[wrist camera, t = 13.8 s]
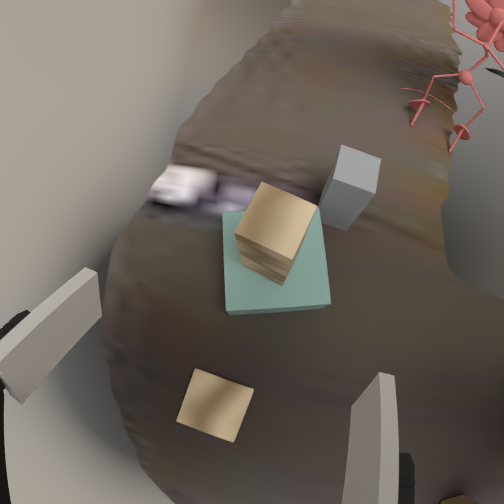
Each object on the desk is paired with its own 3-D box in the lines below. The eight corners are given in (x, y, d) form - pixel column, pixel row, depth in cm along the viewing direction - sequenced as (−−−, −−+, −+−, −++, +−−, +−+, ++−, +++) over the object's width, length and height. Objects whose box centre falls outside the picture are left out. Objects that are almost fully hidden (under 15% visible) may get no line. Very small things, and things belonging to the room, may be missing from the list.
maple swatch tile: (254, 388, 37) (254, 389, 36) (234, 441, 35) (233, 442, 34) (195, 367, 38) (195, 368, 37) (177, 420, 36) (176, 421, 35)
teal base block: (310, 224, 44) (318, 207, 38) (320, 309, 40) (330, 303, 34) (226, 229, 43) (222, 212, 38) (230, 315, 40) (226, 310, 34)
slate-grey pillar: (353, 202, 44) (380, 159, 33) (346, 231, 43) (375, 193, 31) (322, 191, 45) (341, 144, 33) (313, 220, 43) (332, 178, 32)
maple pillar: (300, 248, 36) (317, 206, 25) (282, 286, 35) (292, 259, 23) (262, 230, 37) (262, 181, 25) (243, 267, 36) (233, 232, 24)
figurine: (480, 179, 46) (587, 65, 12) (372, 106, 50) (433, -52, 17) (485, 135, 50) (564, 32, 16) (392, 72, 54) (440, -55, 21)
